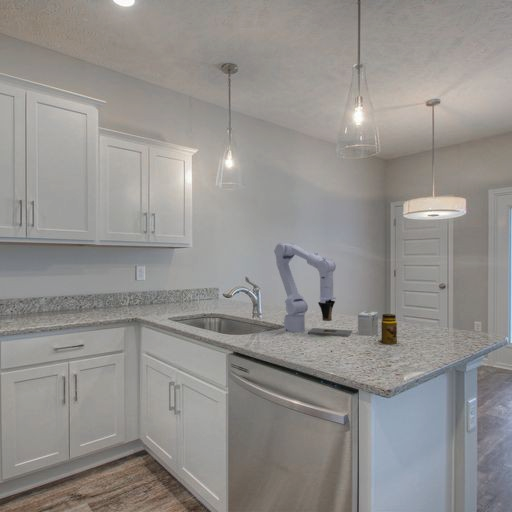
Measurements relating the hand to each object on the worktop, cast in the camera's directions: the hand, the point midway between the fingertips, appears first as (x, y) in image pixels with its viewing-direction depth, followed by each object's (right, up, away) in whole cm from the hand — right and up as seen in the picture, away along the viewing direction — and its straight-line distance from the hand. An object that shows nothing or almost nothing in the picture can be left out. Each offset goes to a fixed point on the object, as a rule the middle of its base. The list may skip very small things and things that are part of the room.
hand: (326, 317), depth 166 cm
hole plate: (+2, -10, +5) cm, 11 cm away
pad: (-2, -9, -6) cm, 11 cm away
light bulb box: (+20, -10, +5) cm, 23 cm away
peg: (0, -1, 0) cm, 1 cm away
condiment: (+24, -9, -9) cm, 27 cm away
